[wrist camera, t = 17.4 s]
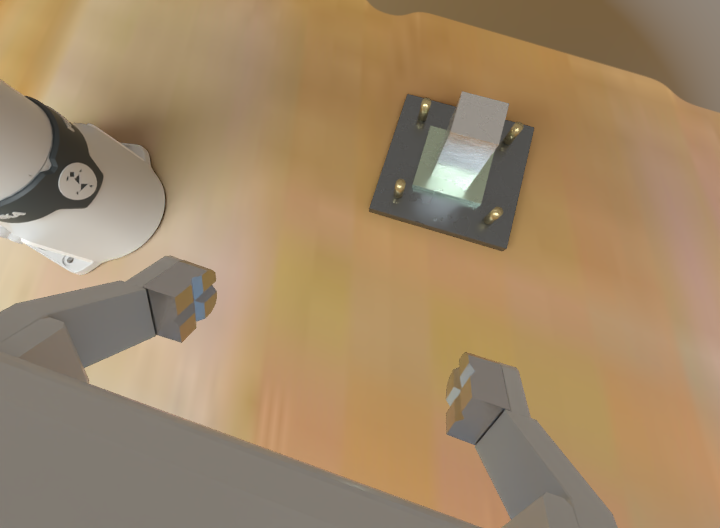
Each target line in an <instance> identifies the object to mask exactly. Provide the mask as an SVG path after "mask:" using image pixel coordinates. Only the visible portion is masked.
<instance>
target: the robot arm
mask: <svg viewBox="0 0 720 528" xmlns="http://www.w3.org/2000/svg"><path fill="white" fill-rule="evenodd" d="M164 207H165V194H164V189H163V186H162V184H161V182H160V180H159V178H158V177H157V175H156V174H155V173H154V171H153V169H152V168H151V163H150V157H149V153H148V151H147V150H146V149H145V148H143V147H142V146H140V145H137V144H128V143H120V142H118V141H117V140H115V139H114V138H112V137H111V136H109V135H108V134H107V133H105V132H104V131H102V130H101V129H99V128H98V127H96V126H94V125H92V124H89V123H88V124H81V123H70V122H69V121H68V120H67V119H65V117H63V116H62V115H61V114H59V113H58V112H56V111H55V110H54V109H52V108H50V107H48V106H46V105H44V104H43V103H41V102H39V101H38V100H36V99H34V98H31V97H28V96H24V95H22V94H21V93H19V92H18V91H16V90H15V89H14V88H12V87H11V86H9V85H8V84H7V83H5V82H4V81H2V80H1V79H0V237H3V238H7V239H9V240H11V241H14V242H17V243H20V244H23V243H24V244H26V245H28V246H29V247H31V248H32V249H34V250H36V251H37V252H39V253H41V254H42V255H44V256H45V257H47V258H49V259H50V260H52V261H54V262H55V263H57V264H58V265H60V266H62V267H63V268H65V269H67V270H68V271H70V272H72V273H75V274H78V275H83V274H86V273H88V272H90V271H91V270H93V269H94V268H96V267H97V266H99V265H100V264H101V263H103V262H106V261H109V260H113V259H116V258H120V257H123V256H125V255H127V254H129V253H131V252H133V251H135V250H136V249H138V248H139V247H140V246H142V245H143V244H144V243H145V242H146V241H147V240H148V239H149V238H150V237H151V236H152V235H153V233H154V232H155V230H156V229H157V227H158V225H159V223H160V221H161V219H162V216H163V212H164ZM73 259H74V260H73ZM72 260H73V262H72ZM215 281H216V275H215V272H214V271H213V270H211V269H208V268H205V267H202V266H199V265H197V264H194V263H191V262H188V261H185V260H181V259H178V258H176V257H173V256H165V257H163V258H161V259H160V260H158V261H157V262H155V263H154V264H152V265H151V266H149V267H148V268H146V269H144V270H143V271H141V272H140V273H138V274H137V275H135V276H134V277H132V278H130V279H129V280H127V281H126V282H123V281H116V282H111V283H107V284H102V285H98V286H93V287H89V288H84V289H80V290H75V291H71V292H66V293H62V294H57V295H52V296H48V297H43V298H39V299H34V300H30V301H25V302H21V303H16V304H14V305H12V306H10V307H9V308H7V309H5V310H3V311H1V312H0V528H482V527H479V526H476V525H473V524H471V523H468V522H465V521H463V520H460V519H457V518H454V517H452V516H449V515H446V514H443V513H441V512H438V511H435V510H432V509H430V508H427V507H424V506H422V505H419V504H416V503H413V502H411V501H408V500H405V499H402V498H400V497H397V496H394V495H392V494H389V493H386V492H383V491H381V490H378V489H375V488H372V487H370V486H367V485H364V484H362V483H359V482H356V481H353V480H351V479H348V478H345V477H343V476H340V475H337V474H334V473H332V472H329V471H326V470H323V469H321V468H318V467H315V466H313V465H310V464H307V463H304V462H302V461H299V460H296V459H293V458H291V457H288V456H285V455H283V454H280V453H277V452H274V451H272V450H269V449H266V448H263V447H261V446H258V445H255V444H252V443H250V442H247V441H244V440H242V439H239V438H236V437H233V436H231V435H228V434H225V433H222V432H220V431H217V430H214V429H211V428H209V427H206V426H203V425H200V424H198V423H195V422H192V421H190V420H187V419H184V418H181V417H179V416H176V415H173V414H170V413H168V412H165V411H162V410H160V409H157V408H154V407H151V406H149V405H146V404H143V403H140V402H138V401H135V400H132V399H129V398H127V397H124V396H121V395H119V394H116V393H113V392H110V391H108V390H105V389H102V388H99V387H97V386H94V385H91V384H89V379H88V376H87V374H86V372H85V370H84V368H85V367H87V366H90V365H92V364H94V363H96V362H99V361H101V360H103V359H105V358H108V357H110V356H112V355H114V354H117V353H119V352H121V351H123V350H125V349H128V348H130V347H132V346H134V345H137V344H139V343H141V342H143V341H146V340H148V339H150V338H152V337H155V336H156V335H159V336H162V337H165V338H169V339H172V340H175V341H178V342H181V343H182V342H183V341H184V340H185V339H186V338H187V337H188V336H189V335H190V334H191V333H192V332H193V331H194V330H195V329H196V321H199V320H202V319H205V318H206V317H207V316H208V315H209V314H210V313H211V312H212V310H213V308H214V306H215V304H216V299H217V291H216V290H215V288H214V287H213V285H212V284H213V283H214V282H215ZM446 400H447V402H448V404H449V405H450V408H449V409H448V411H447V412H446V434H447V435H449V436H452V437H455V438H457V439H460V440H463V441H465V442H468V443H471V444H473V445H476V446H475V448H476V450H477V452H478V454H479V456H480V458H481V460H482V462H483V464H484V466H485V468H486V470H487V472H488V474H489V476H490V478H491V480H492V482H493V484H494V486H495V488H496V490H497V492H498V494H499V496H500V498H501V500H502V502H503V504H504V506H505V508H506V510H507V512H508V514H509V516H510V518H511V520H510V521H509V522H508V523H507V524H505V525H504V526H503V527H501V528H618V527H617V525H616V522H615V520H614V517H613V514H612V513H611V512H610V510H609V509H608V508H607V507H606V505H605V504H604V503H603V502H602V501H601V499H600V498H599V497H598V496H597V494H596V493H595V492H594V491H593V489H592V488H591V487H590V486H589V485H588V483H587V482H586V481H585V480H584V478H583V477H582V476H581V475H580V473H579V472H578V471H577V470H576V468H575V467H574V466H573V465H572V464H571V462H570V461H569V460H568V459H567V457H566V456H565V455H564V454H563V452H562V451H561V450H560V449H559V448H558V446H557V445H556V444H555V443H554V441H553V440H552V439H551V438H550V436H549V435H548V434H547V433H546V431H545V430H544V429H543V428H542V427H541V425H540V424H539V423H538V422H537V420H535V419H532V418H531V417H530V413H529V409H528V405H527V401H526V398H525V394H524V390H523V386H522V382H521V378H520V374H519V371H518V370H517V368H516V367H512V366H509V365H506V364H503V363H498V362H495V361H492V360H489V359H486V358H483V357H480V356H476V355H473V354H470V353H467V352H465V353H464V354H462V356H461V358H460V359H459V367H458V368H456V369H453V371H452V373H451V375H450V377H449V380H448V384H447V389H446Z"/></svg>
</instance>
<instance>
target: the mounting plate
mask: <svg viewBox="0 0 720 528" xmlns="http://www.w3.org/2000/svg"><path fill="white" fill-rule="evenodd" d="M455 108H456V107H455V106H451V105H447V104H443V103H440V102H436V101H432V100H430V99H429V98H421V97H417V96H413V95H409V94H407V97H406V100H405V103H404V106H403V109H402V112H401V115H400V118H399V121H398V124H397V127H396V130H395V133H394V136H393V139H392V142H391V145H390V148H389V151H388V154H387V157H386V160H385V163H384V166H383V169H382V172H381V175H380V178H379V181H378V184H377V187H376V190H375V193H374V196H373V199H372V202H371V205H370V208H369V212H372V213H375V214H379V215H382V216H386V217H389V218H392V219H396V220H399V221H402V222H406V223H409V224H412V225H416V226H419V227H423V228H426V229H429V230H433V231H436V232H439V233H443V234H446V235H450V236H453V237H456V238H460V239H463V240H466V241H470V242H473V243H476V244H480V245H483V246H487V247H490V248H493V249H497V250H500V251H504V250H505V249H507V245H508V240H509V236H510V232H511V227H512V223H513V218H514V214H515V210H516V205H517V201H518V197H519V192H520V188H521V184H522V179H523V175H524V170H525V166H526V162H527V157H528V153H529V149H530V144H531V140H532V136H533V131H534V127H530V126H526V125H523V124H522V123H520V122H516V123H515V122H511V121H508V120H505V122H504V126H503V130H502V134H501V138H500V142H499V145H498V147H497V148H496V149H495V151H494V155H493V159H492V163H491V167H490V171H489V175H488V179H487V183H486V187H485V191H484V195H483V199H482V203H481V205H480V206H476V205H472V204H469V203H465V202H461V201H458V200H454V199H451V198H447V197H444V196H440V195H437V194H433V193H430V192H426V191H423V190H419V189H416V188H412V185H413V181H414V178H415V175H416V172H417V168H418V165H419V162H420V158H421V155H422V152H423V149H424V145H425V142H426V139H427V136H428V132H429V129H430V126H434V127H437V128H441V129H445V130H447V127H448V125H449V122H450V120H451V117H452V115H453V112H454V110H455Z"/></svg>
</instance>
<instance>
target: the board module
mask: <svg viewBox="0 0 720 528" xmlns="http://www.w3.org/2000/svg"><path fill="white" fill-rule="evenodd" d="M508 106H509V103H505V102H501V101H497V100H493V99H490V98H486V97H482V96H478V95H474V94H470V93H466V92H462V93H461V95H460V98H459V100H458V103H457V105H456V108H455V110H454V112H453V115H452V117H451V120H450V122H449V125H448V127H447V130H445V129H441V128H437V127H434V126H430V129H429V132H428V136H427V139H426V142H425V145H424V149H423V152H422V155H421V158H420V162H419V165H418V168H417V172H416V175H415V178H414V181H413V185H412V188H416V189H419V190H423V191H426V192H430V193H433V194H437V195H440V196H444V197H447V198H451V199H454V200H458V201H461V202H465V203H469V204H472V205H476V206H480V205H481V203H482V199H483V195H484V191H485V187H486V183H487V179H488V175H489V171H490V167H491V163H492V159H493V155H494V151H495V149H496V148H497V147H498V145H499V142H500V138H501V134H502V130H503V126H504V122H505V118H506V114H507V110H508Z"/></svg>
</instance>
